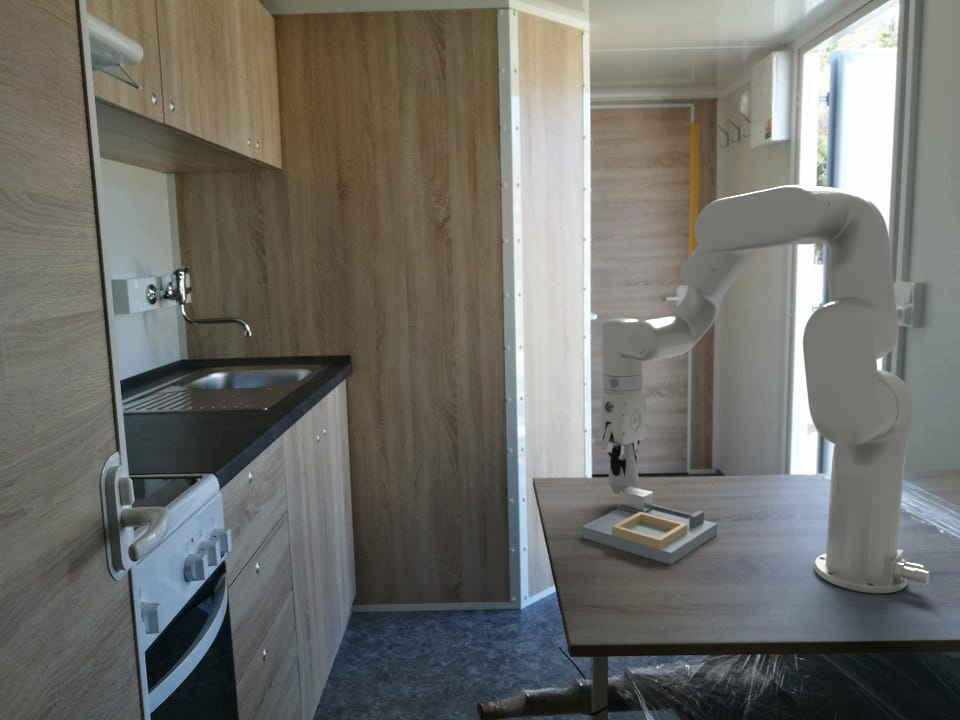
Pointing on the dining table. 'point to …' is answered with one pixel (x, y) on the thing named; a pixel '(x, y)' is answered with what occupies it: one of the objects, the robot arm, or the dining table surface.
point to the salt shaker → (630, 472)
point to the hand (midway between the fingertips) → (623, 475)
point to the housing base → (651, 532)
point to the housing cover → (636, 499)
